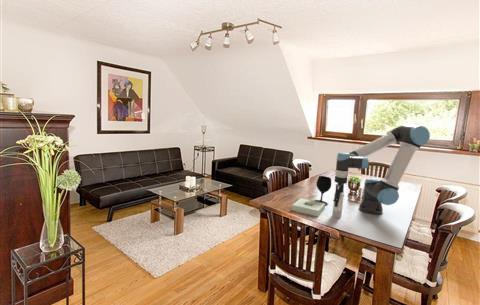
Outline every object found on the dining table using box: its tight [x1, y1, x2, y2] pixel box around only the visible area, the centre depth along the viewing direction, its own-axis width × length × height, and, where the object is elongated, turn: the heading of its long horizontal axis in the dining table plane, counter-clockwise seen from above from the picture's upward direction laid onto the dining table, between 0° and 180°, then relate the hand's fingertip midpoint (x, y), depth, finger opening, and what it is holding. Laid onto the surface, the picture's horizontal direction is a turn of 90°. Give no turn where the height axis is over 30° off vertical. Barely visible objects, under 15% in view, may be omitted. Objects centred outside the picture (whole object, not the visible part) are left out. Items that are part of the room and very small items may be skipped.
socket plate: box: [291, 197, 326, 217], centre depth 182 cm, size 18×18×4 cm
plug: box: [331, 192, 345, 219], centre depth 171 cm, size 5×5×16 cm
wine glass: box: [313, 175, 332, 207], centre depth 195 cm, size 10×10×20 cm
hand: (337, 208), depth 172 cm, fingers open, 12 cm apart
